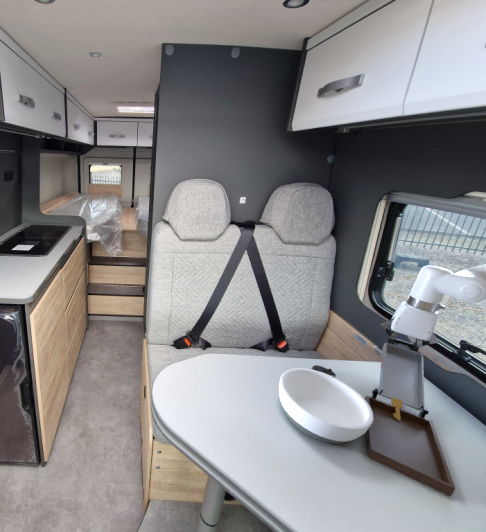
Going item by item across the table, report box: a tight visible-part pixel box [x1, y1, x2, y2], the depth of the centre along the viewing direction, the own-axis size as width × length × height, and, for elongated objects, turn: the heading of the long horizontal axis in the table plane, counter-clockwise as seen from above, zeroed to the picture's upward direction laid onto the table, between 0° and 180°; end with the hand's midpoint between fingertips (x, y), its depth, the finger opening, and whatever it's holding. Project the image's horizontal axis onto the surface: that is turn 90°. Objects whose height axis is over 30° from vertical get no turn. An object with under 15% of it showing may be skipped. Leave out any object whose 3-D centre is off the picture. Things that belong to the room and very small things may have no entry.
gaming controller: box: [311, 364, 337, 378], centre depth 103 cm, size 10×5×6 cm
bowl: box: [278, 367, 374, 445], centre depth 86 cm, size 22×22×8 cm
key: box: [390, 398, 404, 421], centre depth 90 cm, size 6×2×1 cm
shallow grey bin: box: [378, 337, 425, 411], centre depth 97 cm, size 23×10×3 cm, turn 145°
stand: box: [370, 387, 430, 418], centre depth 92 cm, size 2×13×5 cm, turn 56°
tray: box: [364, 394, 456, 497], centre depth 82 cm, size 24×16×3 cm, turn 146°
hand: (399, 350), depth 105 cm, fingers closed on shallow grey bin, 5 cm apart
